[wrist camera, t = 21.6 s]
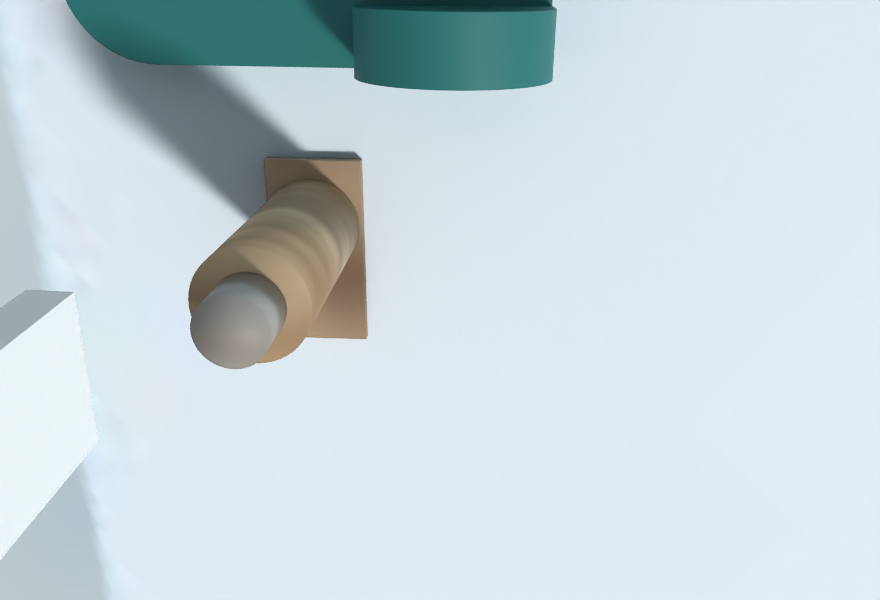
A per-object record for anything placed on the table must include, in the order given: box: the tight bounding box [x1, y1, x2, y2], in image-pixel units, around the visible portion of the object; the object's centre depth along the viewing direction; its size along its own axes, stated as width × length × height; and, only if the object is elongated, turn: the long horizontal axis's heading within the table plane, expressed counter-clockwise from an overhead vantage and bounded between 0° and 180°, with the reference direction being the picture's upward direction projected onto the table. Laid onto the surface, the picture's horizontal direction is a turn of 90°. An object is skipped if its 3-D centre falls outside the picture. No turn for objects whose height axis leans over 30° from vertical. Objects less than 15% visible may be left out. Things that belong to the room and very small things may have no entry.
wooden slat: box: [264, 158, 368, 339], centre depth 31 cm, size 28×4×1 cm, turn 0°
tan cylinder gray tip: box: [188, 179, 359, 369], centre depth 29 cm, size 4×4×11 cm
